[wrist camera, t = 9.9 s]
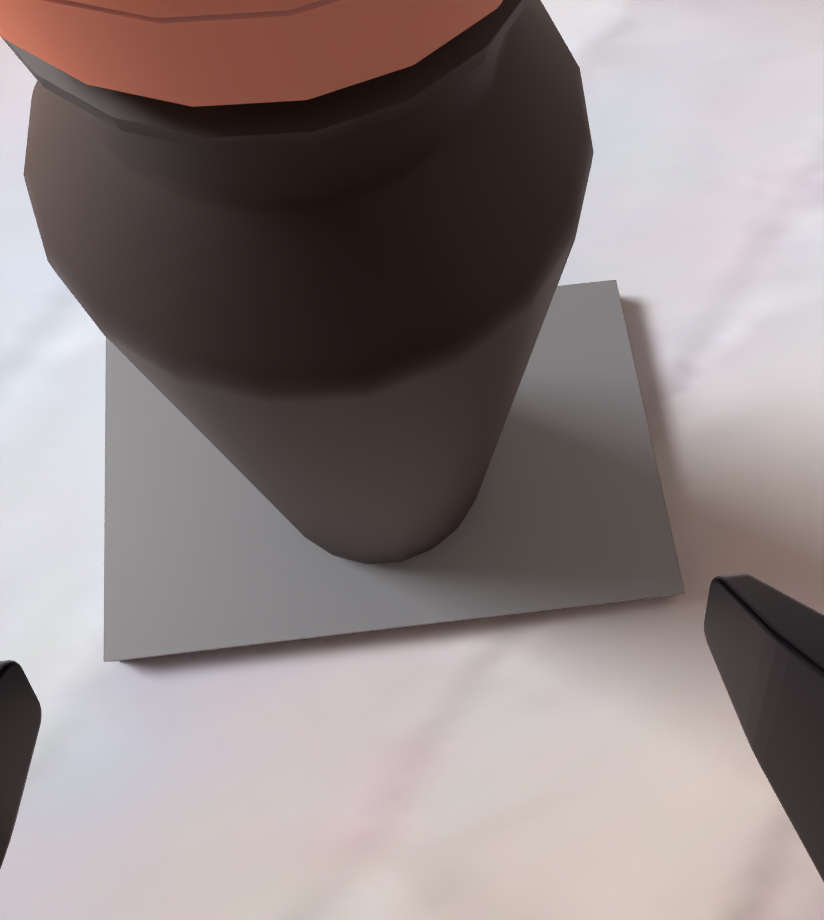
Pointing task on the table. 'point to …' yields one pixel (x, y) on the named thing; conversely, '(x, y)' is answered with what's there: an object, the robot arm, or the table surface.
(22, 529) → the table surface
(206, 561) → the gray board
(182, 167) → the vinegar
